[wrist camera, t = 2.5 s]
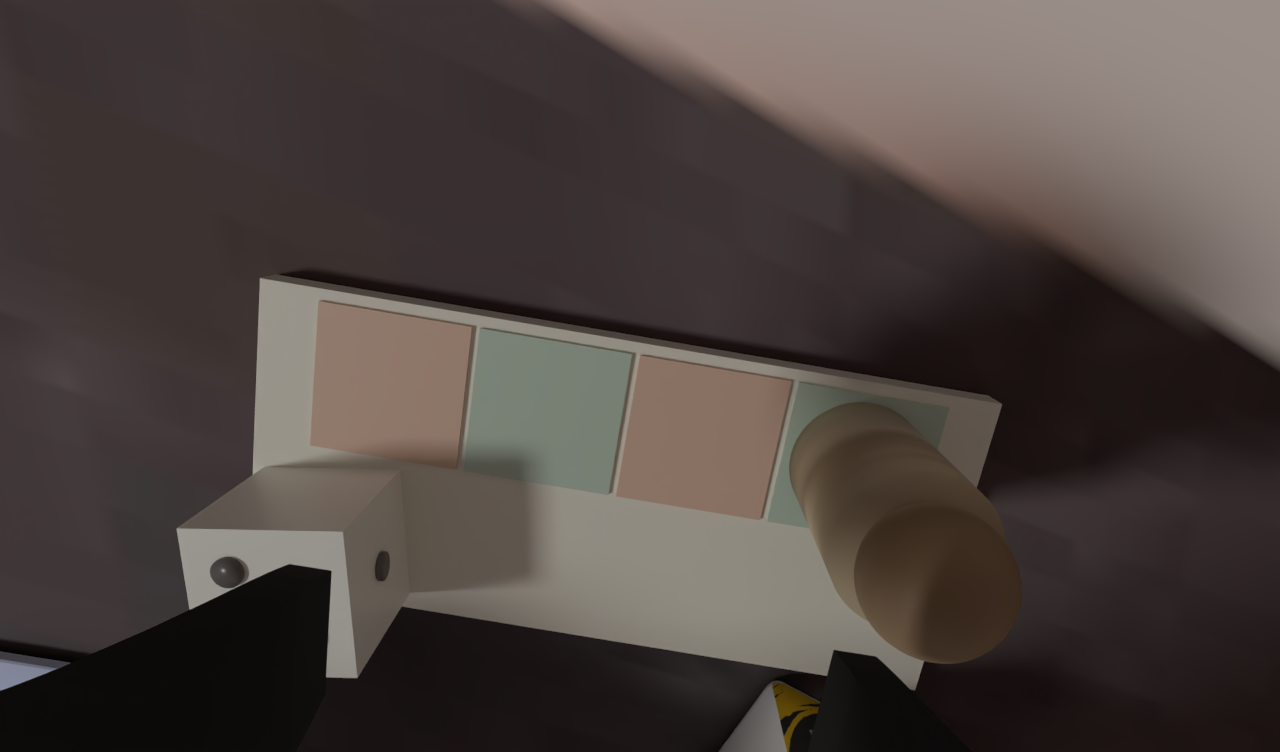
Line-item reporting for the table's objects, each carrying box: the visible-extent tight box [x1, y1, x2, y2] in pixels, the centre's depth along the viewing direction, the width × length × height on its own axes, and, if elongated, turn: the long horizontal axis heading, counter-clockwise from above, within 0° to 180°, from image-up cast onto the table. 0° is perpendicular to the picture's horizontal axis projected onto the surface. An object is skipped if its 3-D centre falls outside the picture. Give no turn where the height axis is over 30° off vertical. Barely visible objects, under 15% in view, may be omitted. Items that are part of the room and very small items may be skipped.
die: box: [177, 467, 410, 678], centre depth 18 cm, size 4×4×4 cm
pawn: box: [789, 402, 1022, 664], centre depth 15 cm, size 3×3×7 cm
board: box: [253, 275, 1002, 690], centre depth 20 cm, size 8×19×1 cm, turn 80°
